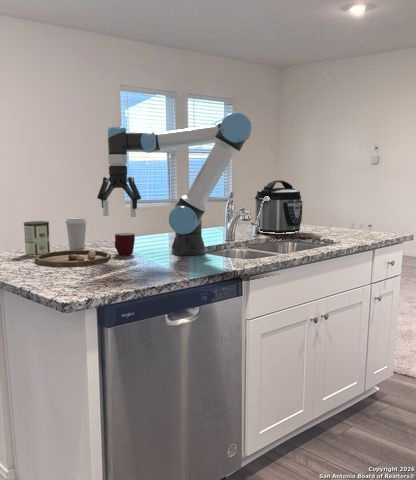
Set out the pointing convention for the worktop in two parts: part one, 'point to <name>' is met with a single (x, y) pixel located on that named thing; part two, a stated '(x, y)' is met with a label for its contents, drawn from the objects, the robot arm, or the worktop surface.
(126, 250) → the mug
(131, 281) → the worktop surface
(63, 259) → the ring tray
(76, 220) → the coffee cup
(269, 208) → the pressure cooker
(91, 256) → the bead
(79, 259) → the bead
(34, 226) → the coffee can
